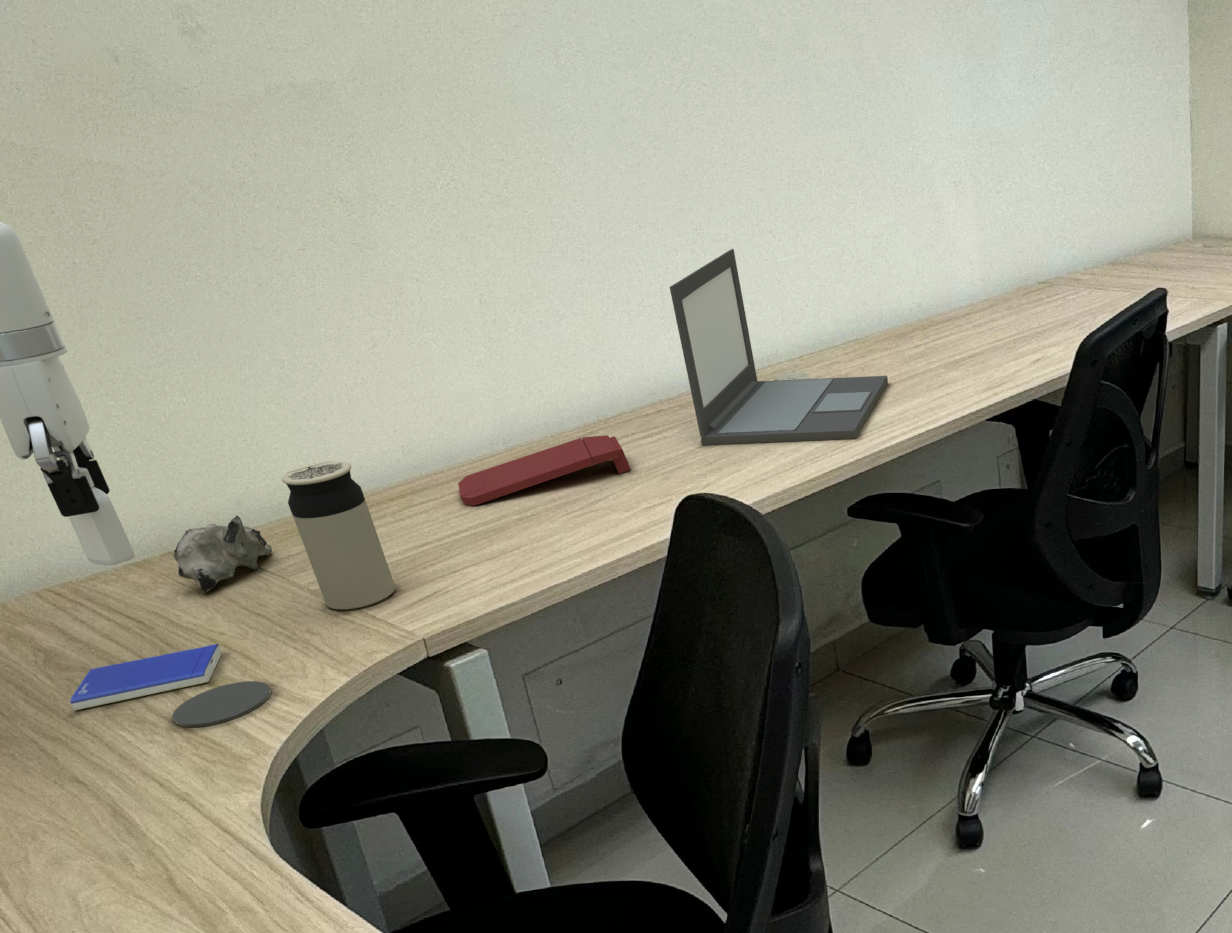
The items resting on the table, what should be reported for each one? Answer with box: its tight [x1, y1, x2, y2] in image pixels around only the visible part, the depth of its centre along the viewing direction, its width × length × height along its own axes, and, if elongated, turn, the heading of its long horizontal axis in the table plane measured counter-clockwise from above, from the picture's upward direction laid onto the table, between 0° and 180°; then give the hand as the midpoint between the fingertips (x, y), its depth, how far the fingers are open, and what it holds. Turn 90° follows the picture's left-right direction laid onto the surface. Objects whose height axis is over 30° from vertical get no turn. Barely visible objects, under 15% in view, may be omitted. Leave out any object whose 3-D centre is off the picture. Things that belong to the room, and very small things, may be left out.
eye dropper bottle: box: [64, 460, 136, 566], centre depth 128 cm, size 4×6×12 cm
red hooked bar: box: [457, 434, 632, 506], centre depth 190 cm, size 12×5×25 cm
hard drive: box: [69, 643, 223, 711], centre depth 133 cm, size 2×8×12 cm
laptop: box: [669, 248, 889, 446], centre depth 213 cm, size 35×28×28 cm
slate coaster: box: [172, 680, 272, 728], centre depth 128 cm, size 9×9×1 cm
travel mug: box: [281, 460, 396, 611], centre depth 148 cm, size 8×8×18 cm
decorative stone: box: [173, 515, 273, 593], centre depth 159 cm, size 16×9×10 cm, turn 23°
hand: (86, 503), depth 127 cm, fingers closed on eye dropper bottle, 5 cm apart
